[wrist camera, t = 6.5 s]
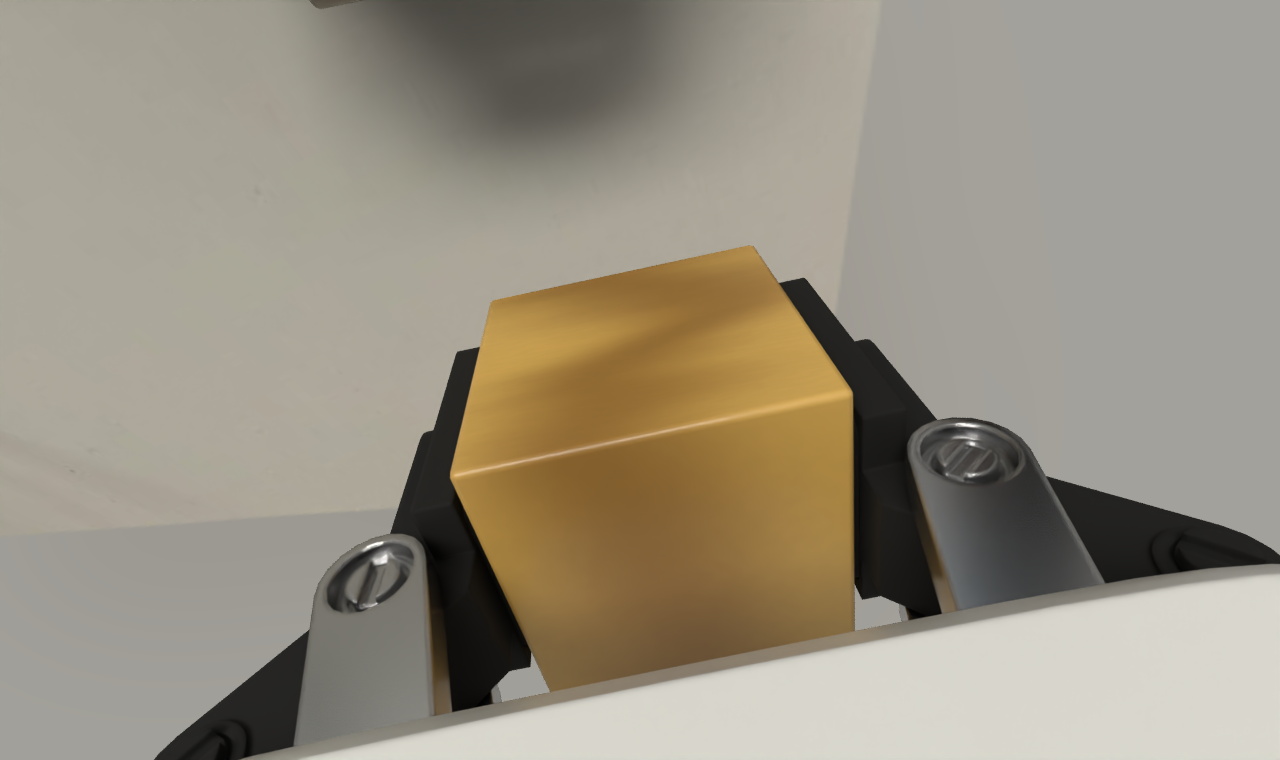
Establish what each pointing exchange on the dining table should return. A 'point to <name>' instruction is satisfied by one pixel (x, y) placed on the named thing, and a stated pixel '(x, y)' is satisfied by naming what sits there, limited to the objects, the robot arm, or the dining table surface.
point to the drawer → (330, 3)
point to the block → (660, 469)
